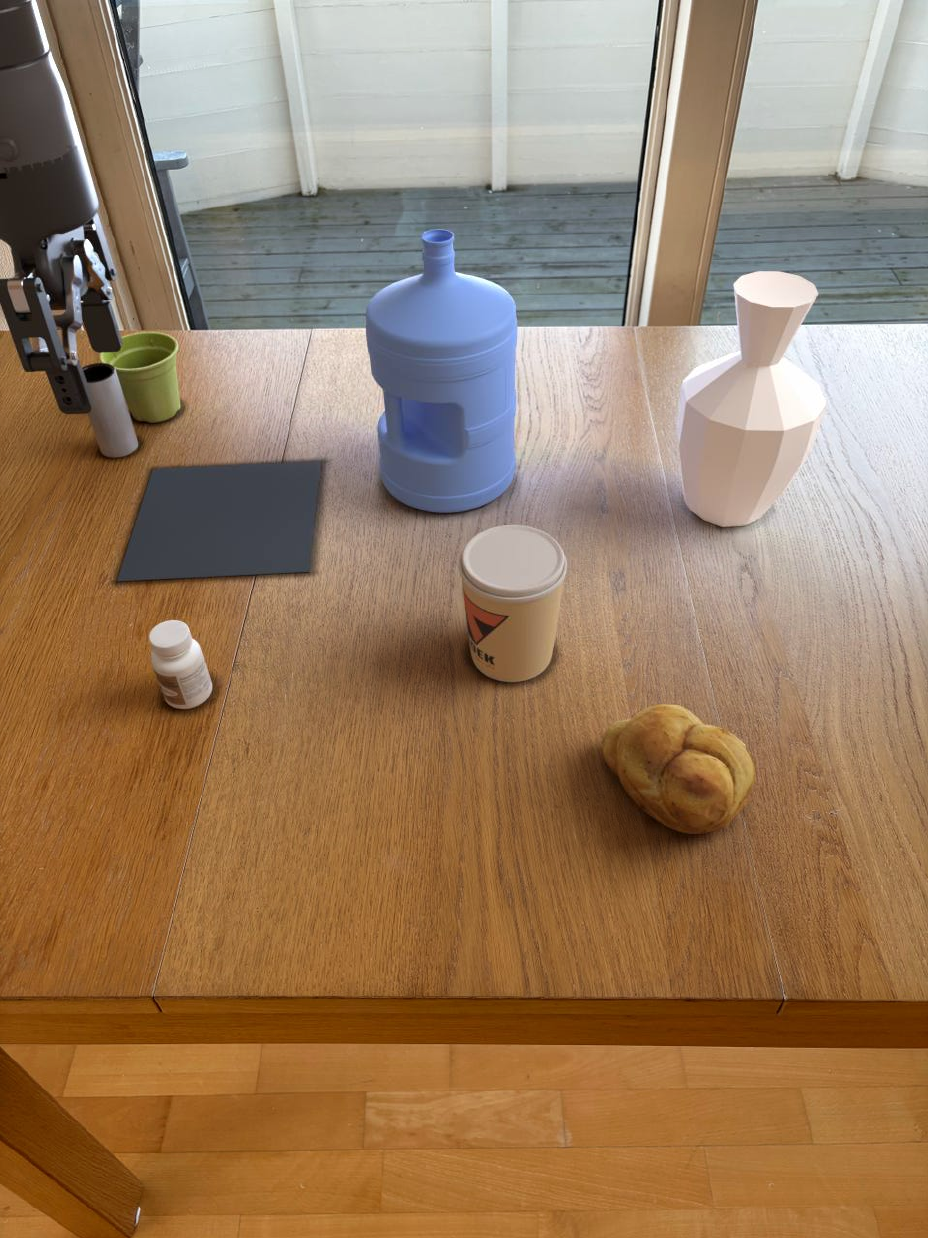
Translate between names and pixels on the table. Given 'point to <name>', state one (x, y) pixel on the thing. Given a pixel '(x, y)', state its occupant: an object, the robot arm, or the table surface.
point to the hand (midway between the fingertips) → (94, 379)
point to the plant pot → (147, 375)
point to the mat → (224, 522)
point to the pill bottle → (179, 665)
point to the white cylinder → (109, 411)
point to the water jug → (444, 383)
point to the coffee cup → (512, 600)
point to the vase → (750, 407)
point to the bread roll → (680, 768)
